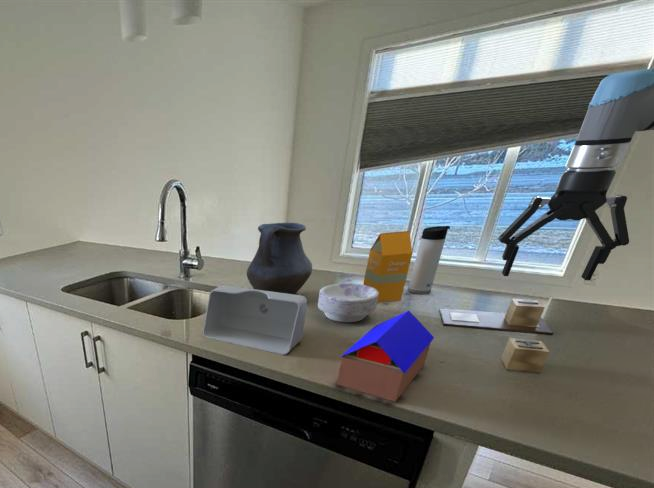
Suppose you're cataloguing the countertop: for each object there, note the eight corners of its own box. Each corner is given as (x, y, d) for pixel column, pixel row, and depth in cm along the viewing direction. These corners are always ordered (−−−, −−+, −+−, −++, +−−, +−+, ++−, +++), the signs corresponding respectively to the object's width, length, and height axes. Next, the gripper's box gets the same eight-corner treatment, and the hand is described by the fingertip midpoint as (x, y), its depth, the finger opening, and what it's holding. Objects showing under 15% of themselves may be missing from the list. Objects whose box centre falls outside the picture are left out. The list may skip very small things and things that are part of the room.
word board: (538, 317, 106) (540, 315, 106) (552, 335, 97) (553, 332, 97) (439, 310, 116) (439, 307, 115) (443, 325, 107) (443, 323, 106)
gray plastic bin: (311, 333, 110) (317, 288, 103) (288, 355, 99) (293, 307, 93) (229, 318, 124) (230, 278, 118) (201, 336, 114) (201, 293, 108)
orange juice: (401, 300, 125) (417, 233, 115) (372, 302, 125) (386, 235, 115) (388, 292, 132) (402, 228, 122) (360, 294, 132) (373, 231, 122)
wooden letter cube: (532, 361, 88) (542, 340, 85) (539, 373, 83) (549, 351, 81) (500, 358, 90) (509, 337, 87) (506, 369, 86) (515, 347, 83)
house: (334, 384, 86) (343, 334, 80) (369, 351, 98) (379, 305, 92) (396, 403, 79) (411, 349, 73) (426, 364, 90) (441, 315, 84)
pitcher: (318, 294, 136) (329, 215, 123) (291, 314, 122) (301, 228, 110) (261, 286, 148) (266, 214, 136) (231, 304, 134) (234, 225, 122)
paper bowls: (309, 321, 116) (312, 295, 112) (324, 305, 127) (328, 280, 123) (366, 330, 108) (372, 302, 104) (378, 312, 118) (384, 286, 114)
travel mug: (432, 294, 127) (452, 228, 116) (408, 293, 129) (425, 228, 119) (430, 288, 131) (448, 224, 121) (406, 287, 134) (422, 224, 124)
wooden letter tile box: (531, 318, 104) (539, 299, 102) (536, 326, 100) (545, 306, 98) (504, 316, 107) (511, 297, 104) (509, 324, 103) (516, 304, 100)
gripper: (512, 174, 82) (476, 277, 92) (694, 167, 70) (630, 285, 81) (505, 171, 87) (472, 268, 98) (673, 164, 76) (615, 275, 87)
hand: (543, 276), depth 89 cm, fingers open, 13 cm apart
